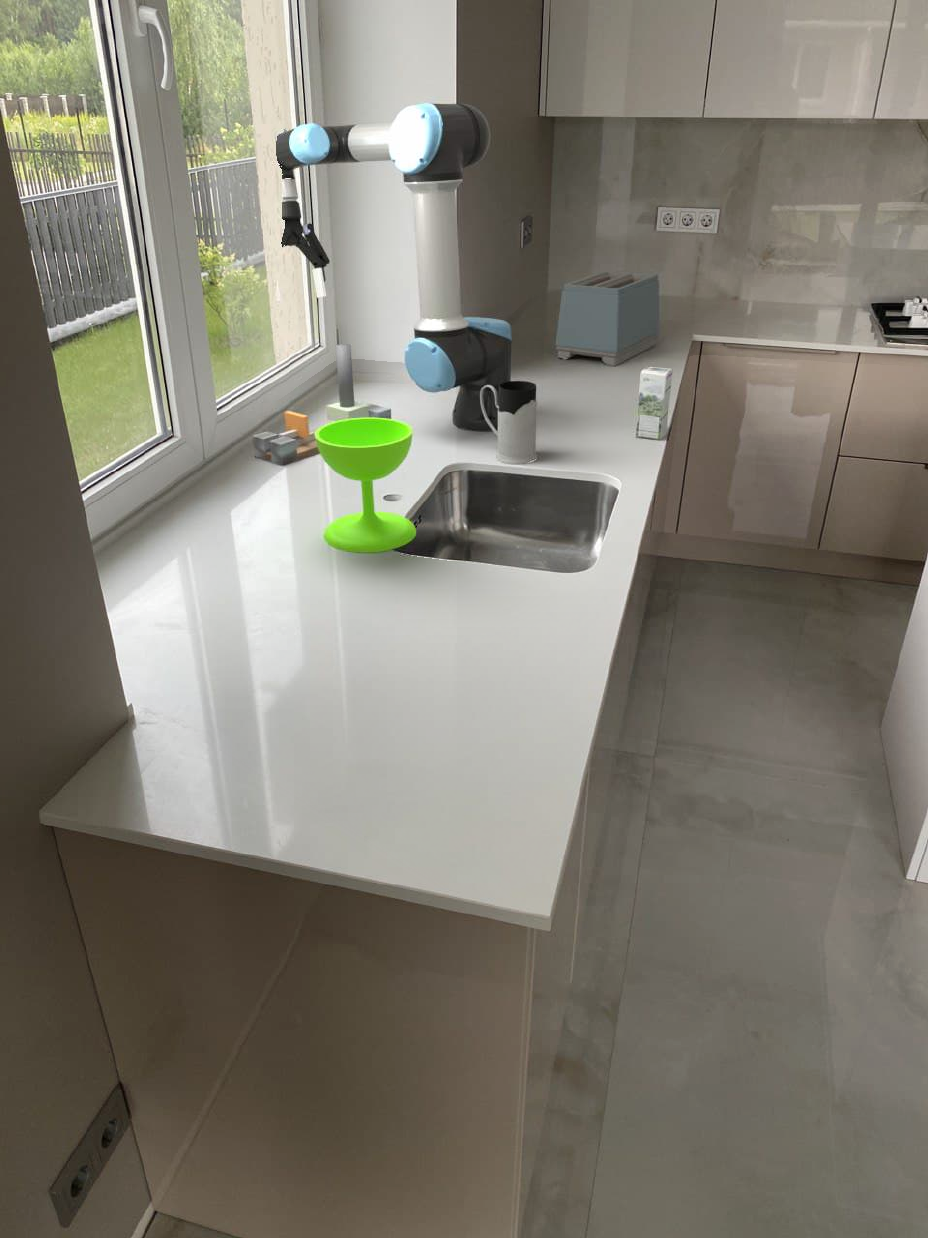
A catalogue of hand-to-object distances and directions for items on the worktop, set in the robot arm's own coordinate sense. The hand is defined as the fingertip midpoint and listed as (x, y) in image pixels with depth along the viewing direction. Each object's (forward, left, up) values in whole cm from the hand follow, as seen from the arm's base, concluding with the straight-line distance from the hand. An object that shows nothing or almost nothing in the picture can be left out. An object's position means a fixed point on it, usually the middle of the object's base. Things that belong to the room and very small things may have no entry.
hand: (299, 299), depth 223 cm
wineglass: (-70, +48, -25) cm, 88 cm away
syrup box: (-80, -29, -25) cm, 89 cm away
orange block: (-27, +28, -21) cm, 44 cm away
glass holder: (-63, +1, -25) cm, 67 cm away
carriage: (-27, +12, -21) cm, 36 cm away
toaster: (-30, -91, -25) cm, 99 cm away
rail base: (-27, +19, -24) cm, 41 cm away
